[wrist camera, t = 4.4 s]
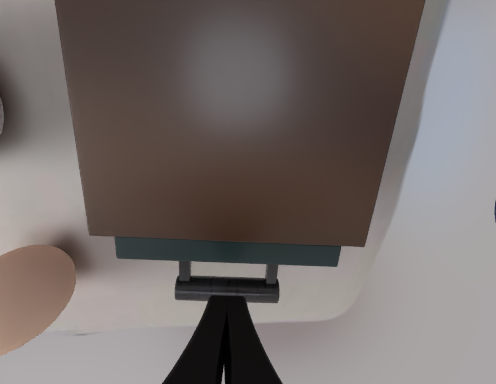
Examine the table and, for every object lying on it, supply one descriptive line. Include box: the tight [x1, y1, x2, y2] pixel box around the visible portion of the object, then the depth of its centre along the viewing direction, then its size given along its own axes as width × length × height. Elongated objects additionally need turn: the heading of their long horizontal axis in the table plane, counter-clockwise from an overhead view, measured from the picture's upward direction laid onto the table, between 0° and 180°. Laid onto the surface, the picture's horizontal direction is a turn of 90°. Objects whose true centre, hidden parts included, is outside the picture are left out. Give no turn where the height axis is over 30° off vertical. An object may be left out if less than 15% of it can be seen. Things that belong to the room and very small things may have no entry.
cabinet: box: [55, 0, 425, 247], centre depth 14 cm, size 14×12×9 cm
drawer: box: [115, 236, 341, 303], centre depth 15 cm, size 17×10×7 cm, turn 176°
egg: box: [0, 245, 76, 356], centre depth 18 cm, size 5×5×8 cm
